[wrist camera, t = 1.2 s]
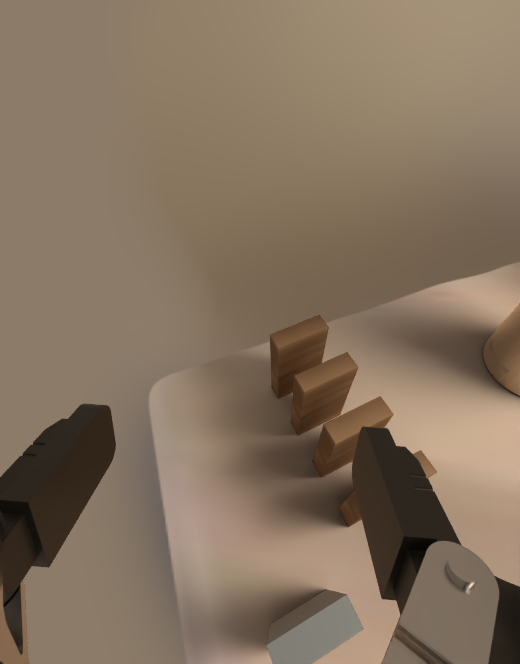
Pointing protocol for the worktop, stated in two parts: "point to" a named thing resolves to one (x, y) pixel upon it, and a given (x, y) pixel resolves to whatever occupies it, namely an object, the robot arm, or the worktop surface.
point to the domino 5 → (313, 629)
